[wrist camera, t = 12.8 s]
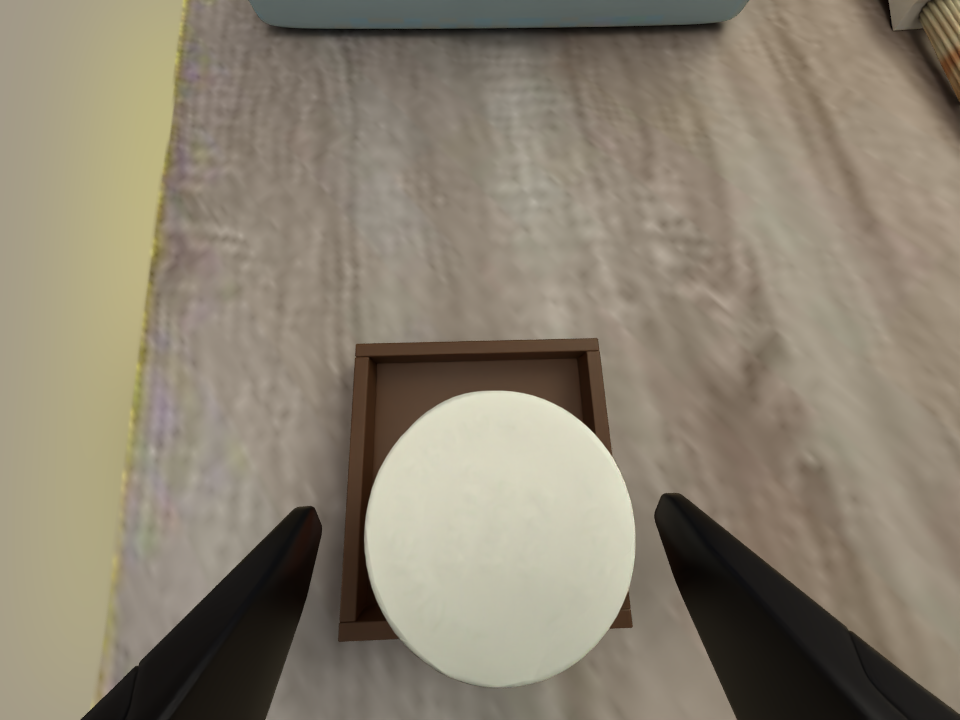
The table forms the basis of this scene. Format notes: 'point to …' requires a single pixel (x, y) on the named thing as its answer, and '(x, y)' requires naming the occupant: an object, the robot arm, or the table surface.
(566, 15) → the touchscreen device
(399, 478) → the pill bottle
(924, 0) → the chopstick bundle
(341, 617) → the walnut tray
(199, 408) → the table surface
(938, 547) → the table surface
